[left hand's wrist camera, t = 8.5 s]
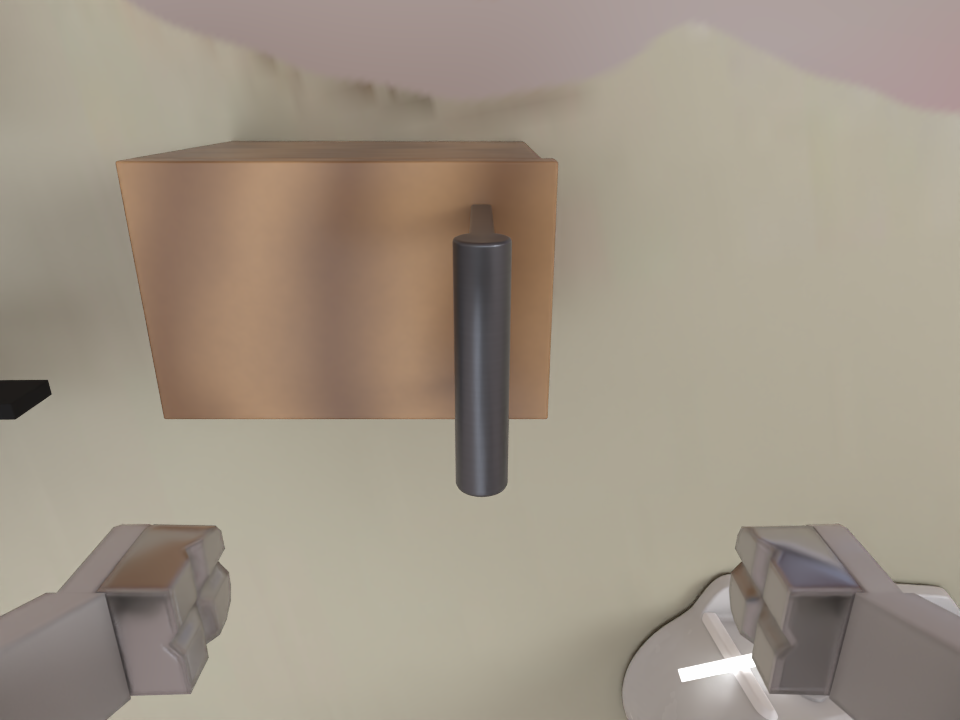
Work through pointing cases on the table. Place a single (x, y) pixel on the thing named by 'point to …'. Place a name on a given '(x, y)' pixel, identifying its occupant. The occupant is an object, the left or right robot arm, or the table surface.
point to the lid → (350, 291)
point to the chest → (355, 150)
